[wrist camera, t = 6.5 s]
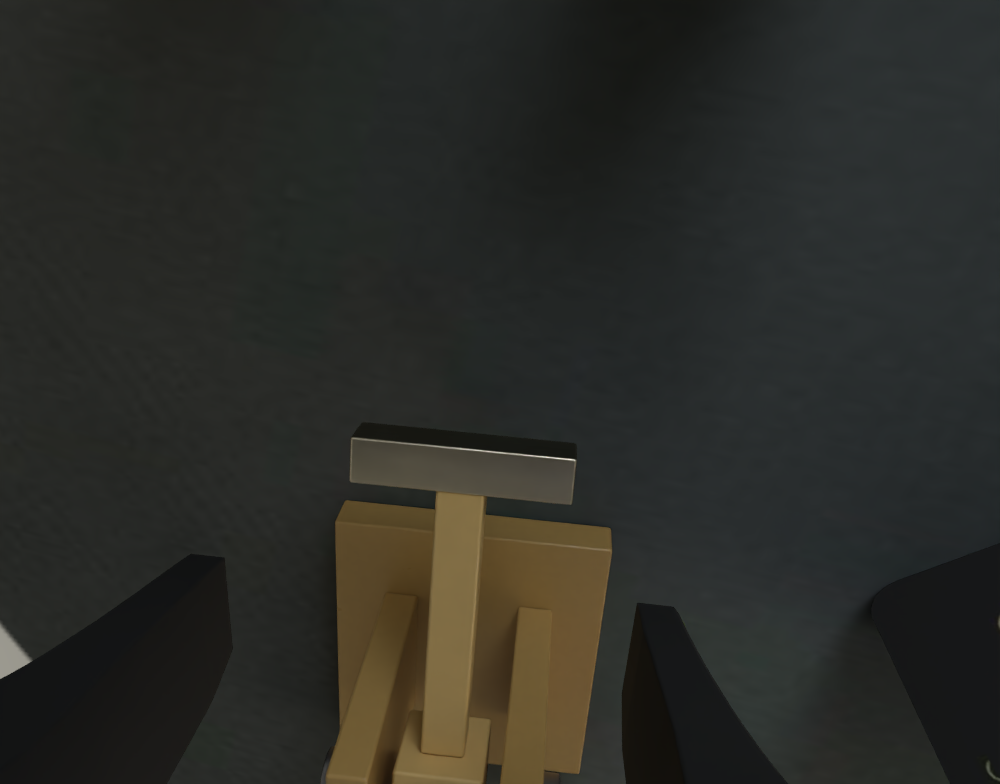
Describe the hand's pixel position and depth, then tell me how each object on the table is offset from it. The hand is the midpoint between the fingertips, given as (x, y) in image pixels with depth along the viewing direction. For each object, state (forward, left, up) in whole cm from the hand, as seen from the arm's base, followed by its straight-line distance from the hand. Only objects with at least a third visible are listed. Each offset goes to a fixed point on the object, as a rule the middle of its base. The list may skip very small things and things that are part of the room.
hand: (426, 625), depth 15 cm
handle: (-5, +1, -6) cm, 7 cm away
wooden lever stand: (-8, +2, -10) cm, 13 cm away
